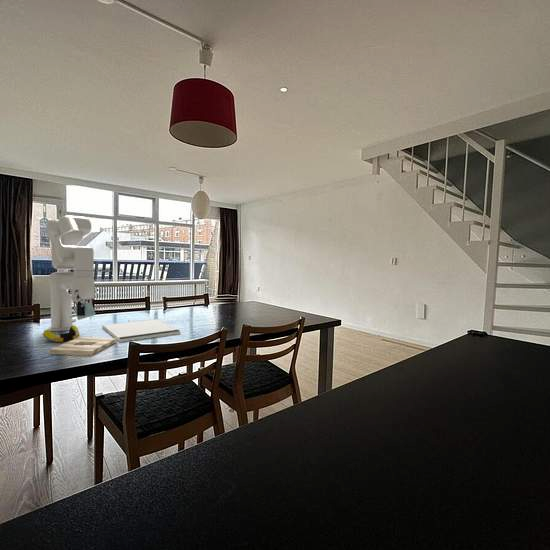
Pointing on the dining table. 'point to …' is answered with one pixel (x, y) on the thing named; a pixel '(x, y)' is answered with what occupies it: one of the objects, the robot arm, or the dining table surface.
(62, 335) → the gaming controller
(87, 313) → the servo block
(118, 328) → the white flat board
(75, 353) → the plate
